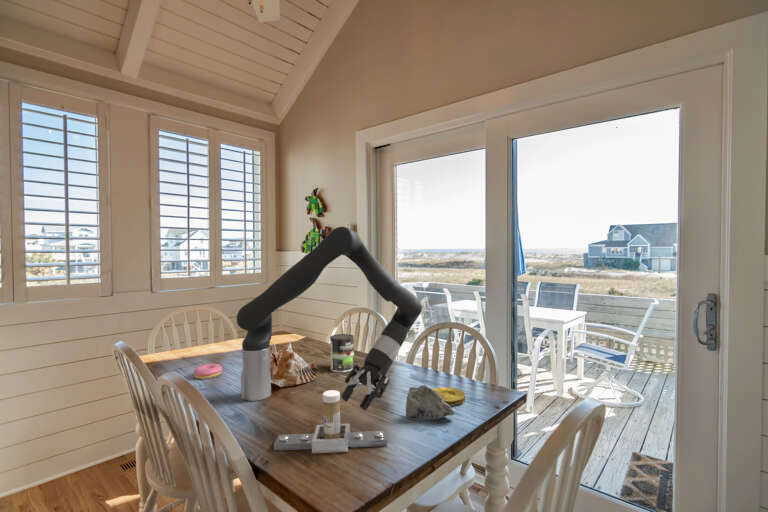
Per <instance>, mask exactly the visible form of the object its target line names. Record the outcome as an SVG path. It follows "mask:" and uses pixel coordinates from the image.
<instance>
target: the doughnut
mask: <svg viewBox="0 0 768 512" xmlns="http://www.w3.org/2000/svg"><path fill="white" fill-rule="evenodd" d="M222 372H223V367H222V365H221V364H219V363H207V364H202V365H199V366H198V367H196V368H195V369H194V370H193V375H194V377H195V379H198V380H199V379H200V380H207V379H206V378H209V379H213V378H212V377H214V378H216V377H218V376H220V375H221V374H222Z"/></svg>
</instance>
